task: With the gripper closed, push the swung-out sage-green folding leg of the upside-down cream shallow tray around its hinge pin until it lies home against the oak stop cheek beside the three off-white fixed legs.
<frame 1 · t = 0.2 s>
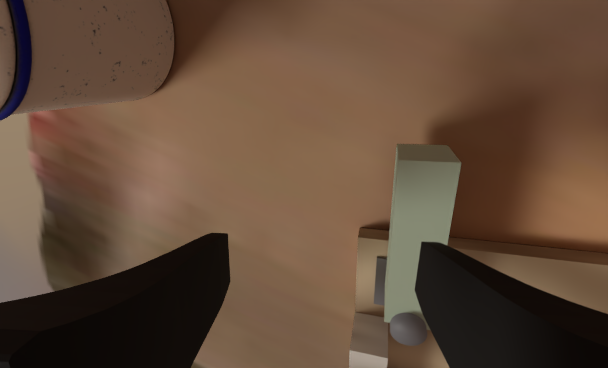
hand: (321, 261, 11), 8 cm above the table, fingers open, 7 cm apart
green leg: (414, 246, 15), point 3 cm above the table, hinge at 90.0°
teacup with lid: (103, 23, 19), on the table
cream shallow tray: (460, 328, 19), on the table
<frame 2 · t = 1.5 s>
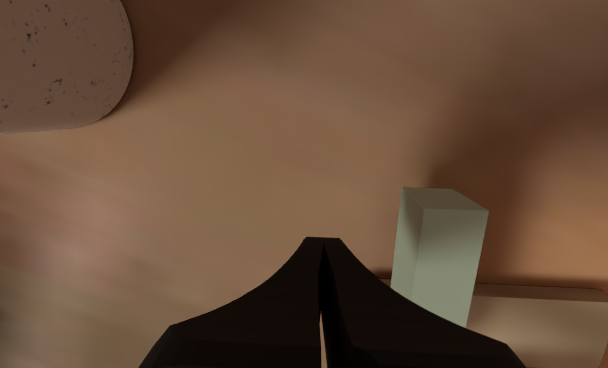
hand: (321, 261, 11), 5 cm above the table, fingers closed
green leg: (426, 300, 13), point 3 cm above the table, hinge at 90.0°
teacup with lid: (28, 30, 14), on the table
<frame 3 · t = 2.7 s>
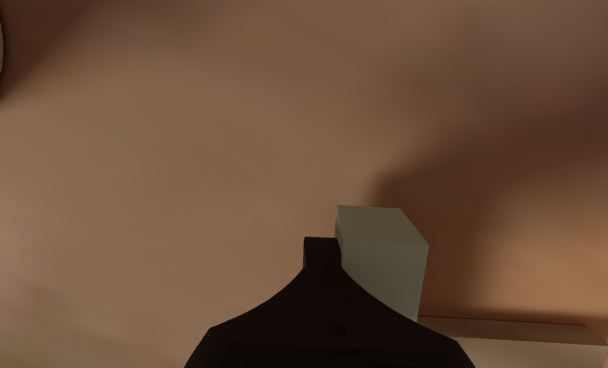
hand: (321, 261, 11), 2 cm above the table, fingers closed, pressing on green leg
green leg: (363, 348, 11), point 3 cm above the table, hinge at 89.4°, touching gripper
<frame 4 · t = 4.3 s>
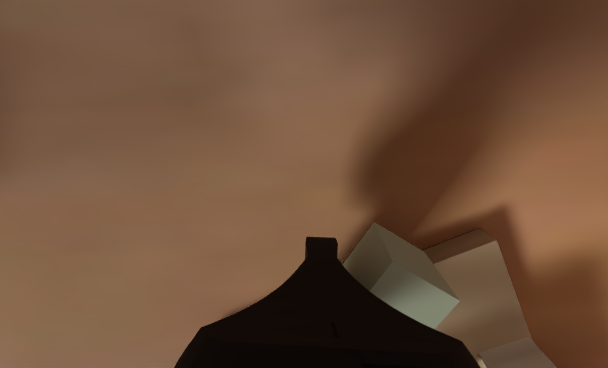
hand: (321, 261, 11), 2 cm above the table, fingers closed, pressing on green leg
green leg: (333, 357, 11), point 3 cm above the table, hinge at 32.8°, touching gripper
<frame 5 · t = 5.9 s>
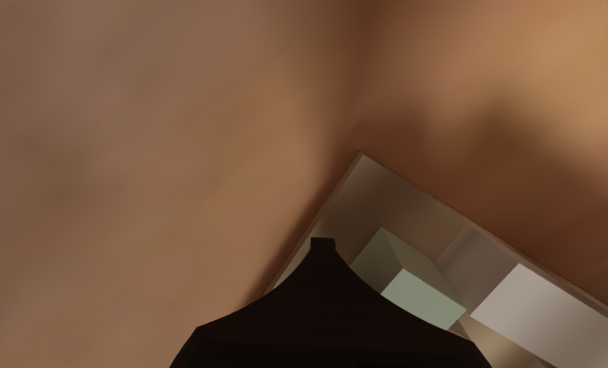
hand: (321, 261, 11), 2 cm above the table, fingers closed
green leg: (336, 360, 11), point 3 cm above the table, hinge at -2.1°, touching gripper
cream shallow tray: (396, 341, 14), on the table
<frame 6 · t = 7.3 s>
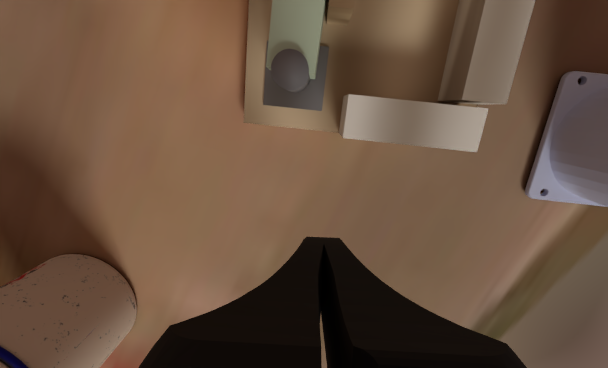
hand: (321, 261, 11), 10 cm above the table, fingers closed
teacup with lid: (85, 310, 24), on the table
cream shallow tray: (369, 15, 17), on the table
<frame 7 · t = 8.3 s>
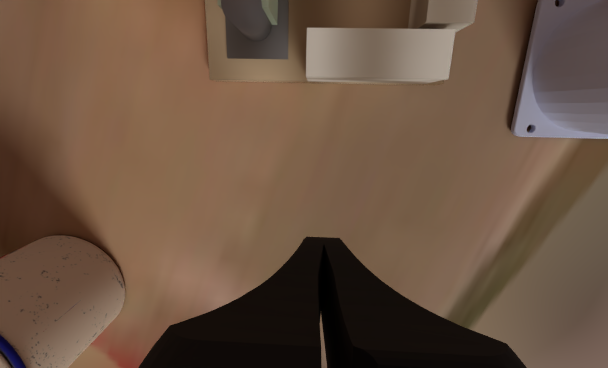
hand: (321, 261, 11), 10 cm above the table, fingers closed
teacup with lid: (75, 294, 24), on the table
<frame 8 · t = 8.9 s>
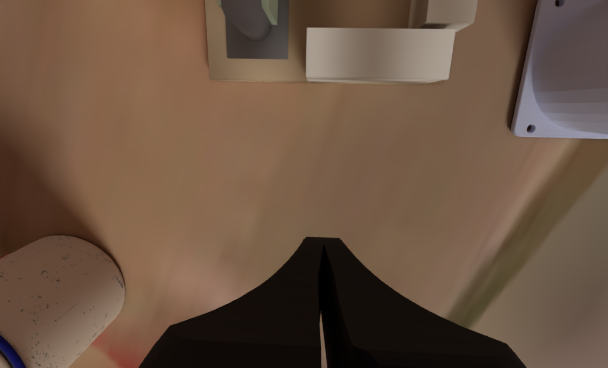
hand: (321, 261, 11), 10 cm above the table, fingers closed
teacup with lid: (75, 294, 24), on the table
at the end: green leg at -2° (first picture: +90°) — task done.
